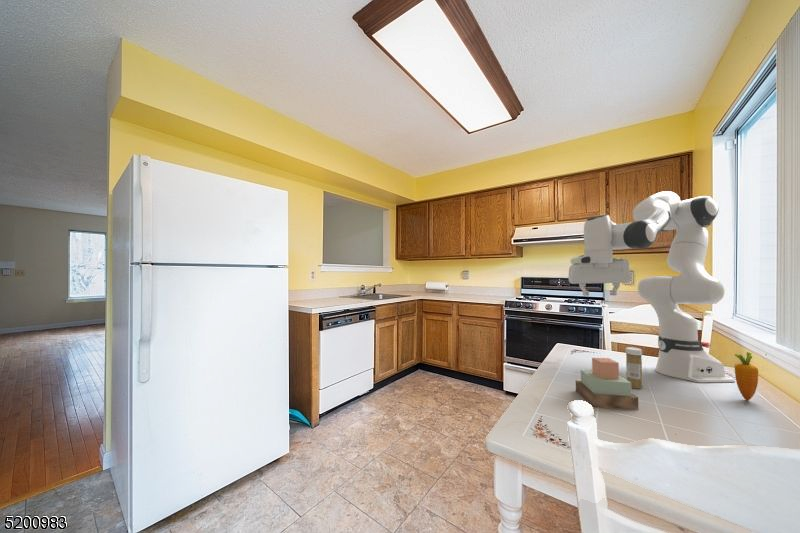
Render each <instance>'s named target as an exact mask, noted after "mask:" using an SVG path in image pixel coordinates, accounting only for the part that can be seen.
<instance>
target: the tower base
mask: <svg viewBox="0 0 800 533" xmlns="http://www.w3.org/2000/svg"><path fill="white" fill-rule="evenodd" d="M575 392H576V393H577V394H578V395H580V396H581V397H582V398H583V400H585V401H586V402H587V403H589V404H590V405H591V406H592V407H593V408H602V409H615V410H616V409H619V410H635V411H639V397H638V396H636V395H634V394H633V393H632V397H631V396H619V395H607V394H594V393H593V392H592V391H591V390H589V389H588V388H587V387H586V386H585V385H584V384H583V383H582V382H581V380H575Z"/></svg>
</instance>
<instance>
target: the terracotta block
mask: <svg viewBox="0 0 800 533" xmlns="http://www.w3.org/2000/svg"><path fill="white" fill-rule="evenodd" d="M619 366H620V364H619V362H618V361H616V360H614V359H612V358H608V357H592V358H591V367H592V368H591V369H592V373H593V374H594V375H596V376H598V377H600V378H601V379H619V375H620V372H619V371H620V370H619Z"/></svg>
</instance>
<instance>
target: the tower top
mask: <svg viewBox="0 0 800 533" xmlns="http://www.w3.org/2000/svg"><path fill="white" fill-rule="evenodd" d="M580 381H581V382H582V383H583V384H584V385H585V386H586V387H587V388H588V389H589V390H591V391H592V392H593V393H594V394H607V395H619V396H631V397H632V394H633V392H632V387H631V382H629V381H628V380H627V378H624V377H623V376H622V375H620V374H619V379H601V378H600V377H598V376H596V375H594V374H593V373H592V370H591V369H580Z"/></svg>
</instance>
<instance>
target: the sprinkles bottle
mask: <svg viewBox="0 0 800 533" xmlns="http://www.w3.org/2000/svg"><path fill="white" fill-rule="evenodd" d="M625 354H626V361H625V363H626V364H625V365H626V369H625V370H626V372H625V373H626V380H628V381H629V382H631V389H638V390H639V389H643V388H644V387H643V365H642V364H643V361H642V360H643V359H642V356H643V349H641V348H638V347H634V346H633V347H632V346H631V347H630V346H627V347H625Z"/></svg>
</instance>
